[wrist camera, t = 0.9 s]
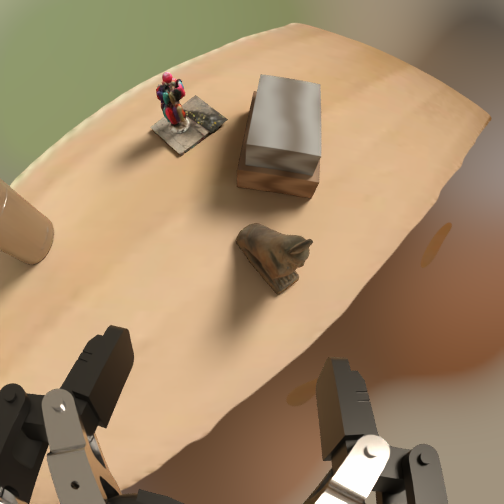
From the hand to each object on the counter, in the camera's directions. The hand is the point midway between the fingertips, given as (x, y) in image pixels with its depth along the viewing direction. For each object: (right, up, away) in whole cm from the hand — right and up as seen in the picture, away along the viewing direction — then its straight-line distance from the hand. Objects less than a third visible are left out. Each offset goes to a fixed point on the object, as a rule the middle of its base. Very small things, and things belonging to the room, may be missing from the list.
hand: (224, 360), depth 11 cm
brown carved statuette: (+3, +3, +32) cm, 32 cm away
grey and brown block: (+6, +22, +38) cm, 44 cm away
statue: (-10, +27, +39) cm, 48 cm away
